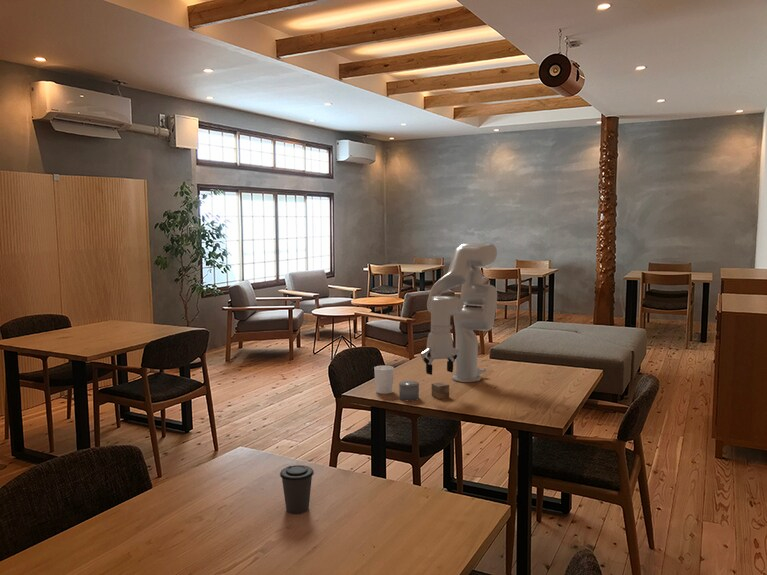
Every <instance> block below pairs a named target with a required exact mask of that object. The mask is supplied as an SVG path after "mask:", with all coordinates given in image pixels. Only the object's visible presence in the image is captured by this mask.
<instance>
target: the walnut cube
mask: <svg viewBox="0 0 767 575" xmlns="http://www.w3.org/2000/svg"><path fill="white" fill-rule="evenodd" d="M433 396H434V398H435V397H436V399H438V400H440V398H441V399H448V398H450V384H448V383H445V382H443V381H441V382H433V383H431V397H433Z"/></svg>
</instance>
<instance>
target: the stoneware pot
mask: <svg viewBox="0 0 767 575" xmlns="http://www.w3.org/2000/svg"><path fill="white" fill-rule="evenodd" d="M398 388H399V390H398V392H399V395H398V396H399V398H400V399H399V398H398V399H399V400H401V399H402V400H401V401H404V400H408V401H407V402H413V401H412V400H415V401H417V399H418V400H419V398H420V397H419V396H420V382H418V381H415V380H402V381H400V382H399V383H398Z"/></svg>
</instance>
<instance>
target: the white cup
mask: <svg viewBox="0 0 767 575" xmlns="http://www.w3.org/2000/svg"><path fill="white" fill-rule="evenodd" d="M373 368H374V386H375V393H377V394H382V395H385V394H386V395H387V394H391V393H392V392H393V389H394V388H393V384H394V373H395V372H394V366H391V365H377V366H374V367H373Z"/></svg>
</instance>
